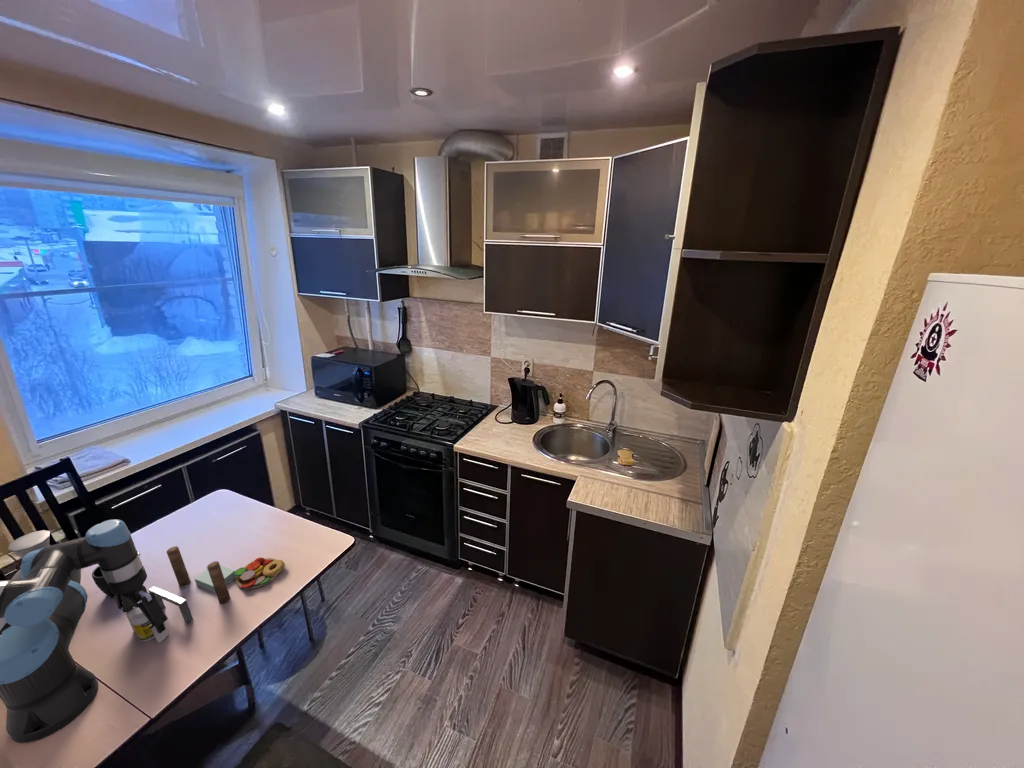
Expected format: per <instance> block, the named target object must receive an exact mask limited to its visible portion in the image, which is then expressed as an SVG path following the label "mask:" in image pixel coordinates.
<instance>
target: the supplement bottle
mask: <svg viewBox="0 0 1024 768" xmlns="http://www.w3.org/2000/svg"><path fill="white" fill-rule="evenodd" d="M131 613H132V616H133V617H132V619H131V622H132V625H133V627H134V629H135V631H134V632H135V633H136V636H137V639H138V640H139V641H141V642H147V641H150V640H151V641H152V640H153V639H154V638H155V636H154V634H153V631H152V629H150V628H149V627H150V625H151V623H150V622H149V620H148V619H147V618H146V616H145V615H144V614H143V612H142V611H141V610H140V608H136V607H135V606H134V607H133V610H132V612H131Z"/></svg>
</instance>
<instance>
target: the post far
mask: <svg viewBox="0 0 1024 768" xmlns="http://www.w3.org/2000/svg"><path fill="white" fill-rule="evenodd" d="M166 555H167V557H168V560H169V562H170V565H171V568H172V571H173V573H174V576H175V578H176V581H177V583H178V587H179V588H185V587H187V586H189V585H190V584H191V583H192V581H191V578H190V576H189V572H188V570H187V567H186V565H185V562H184V559H183V556H182V554H181V550H180V547H179V546H172V547H170V548H168V549H167V550H166Z"/></svg>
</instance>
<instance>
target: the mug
mask: <svg viewBox="0 0 1024 768" xmlns="http://www.w3.org/2000/svg"><path fill="white" fill-rule="evenodd" d="M91 577H92V579H93V581H94V583H95V585H96V586H97V588H98V589H99V590H100V591H101V592H102V593H104V594H105V595H106V596H107V597H108V598H115V594H113V593H112V592H111V591H110V588H109V586H108V584H107V581H106V580H105V578H104V576H103V574H102V572H101V570H100V567H99V565H97V567H95V568H94V569H93V571H92V572H91Z"/></svg>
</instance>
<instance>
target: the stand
mask: <svg viewBox="0 0 1024 768" xmlns="http://www.w3.org/2000/svg"><path fill="white" fill-rule="evenodd" d="M220 567H221V570H222V573H223V576H224V579H225V583H226V585H228V584H229V583H231V582H232V581H233V580H234V579H235V578H237V576H235V575H234V572H235V571H236V570H234V569H232V568H229V567H227V566H225V565H220ZM194 581H195V585H197V586H199V587H201V588H204V589H206V590H209V591H211V592H214V593H216V592H215V589H214V586H213V583H212V580H211V577H210V575H209V572H208V569H206V570H205V571H203V572H202V573H200V574H199V575H198V576H196V577H195V578H194Z"/></svg>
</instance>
